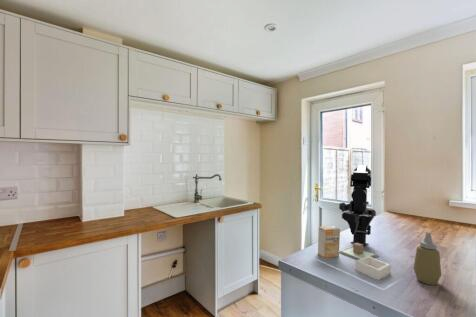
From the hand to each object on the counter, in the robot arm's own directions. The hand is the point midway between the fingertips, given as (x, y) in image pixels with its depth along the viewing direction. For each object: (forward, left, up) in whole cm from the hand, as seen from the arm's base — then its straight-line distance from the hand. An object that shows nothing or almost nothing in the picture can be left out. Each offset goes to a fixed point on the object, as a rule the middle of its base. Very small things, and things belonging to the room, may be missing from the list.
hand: (358, 232), depth 110 cm
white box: (+11, +12, -11) cm, 19 cm away
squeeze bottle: (0, +26, -11) cm, 28 cm away
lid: (0, 0, -10) cm, 10 cm away
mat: (0, 0, -11) cm, 11 cm away
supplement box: (+12, -7, -11) cm, 18 cm away
